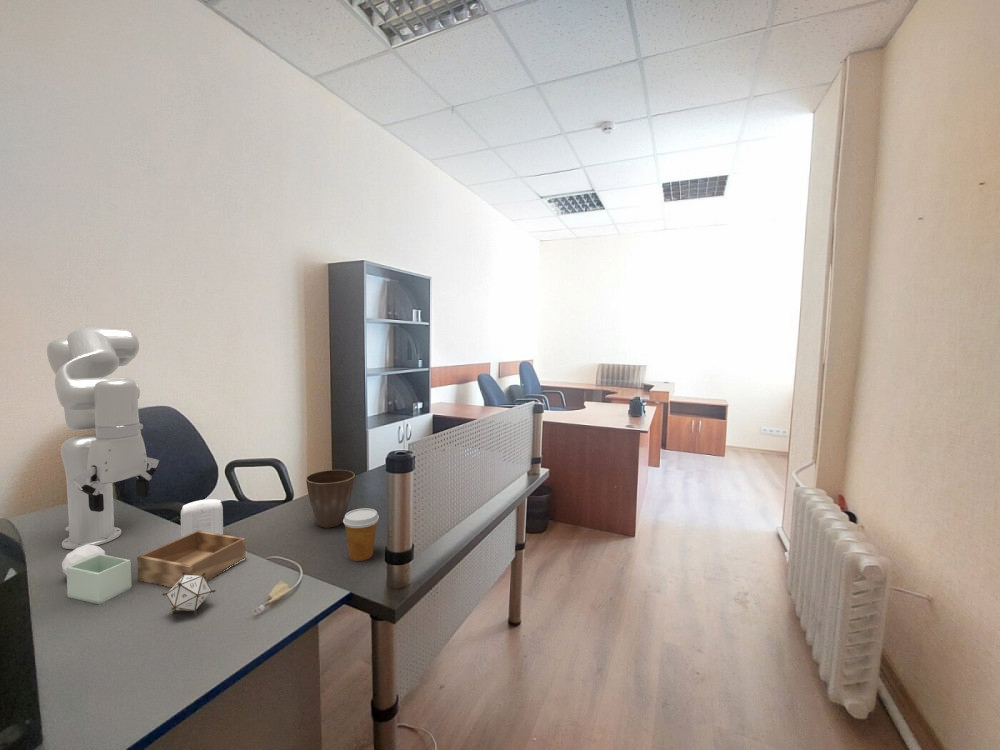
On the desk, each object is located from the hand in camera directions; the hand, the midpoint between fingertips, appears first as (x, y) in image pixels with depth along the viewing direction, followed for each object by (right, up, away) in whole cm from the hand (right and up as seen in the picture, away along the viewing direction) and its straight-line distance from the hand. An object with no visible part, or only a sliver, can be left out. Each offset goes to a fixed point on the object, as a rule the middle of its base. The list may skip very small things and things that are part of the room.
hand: (120, 503), depth 99 cm
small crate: (-4, -21, -1) cm, 21 cm away
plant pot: (+34, -19, +39) cm, 55 cm away
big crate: (+11, -20, +9) cm, 25 cm away
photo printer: (+1, -19, +25) cm, 32 cm away
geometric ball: (-14, -20, +6) cm, 25 cm away
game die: (+22, -22, -7) cm, 31 cm away
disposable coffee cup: (+51, -21, +18) cm, 58 cm away
